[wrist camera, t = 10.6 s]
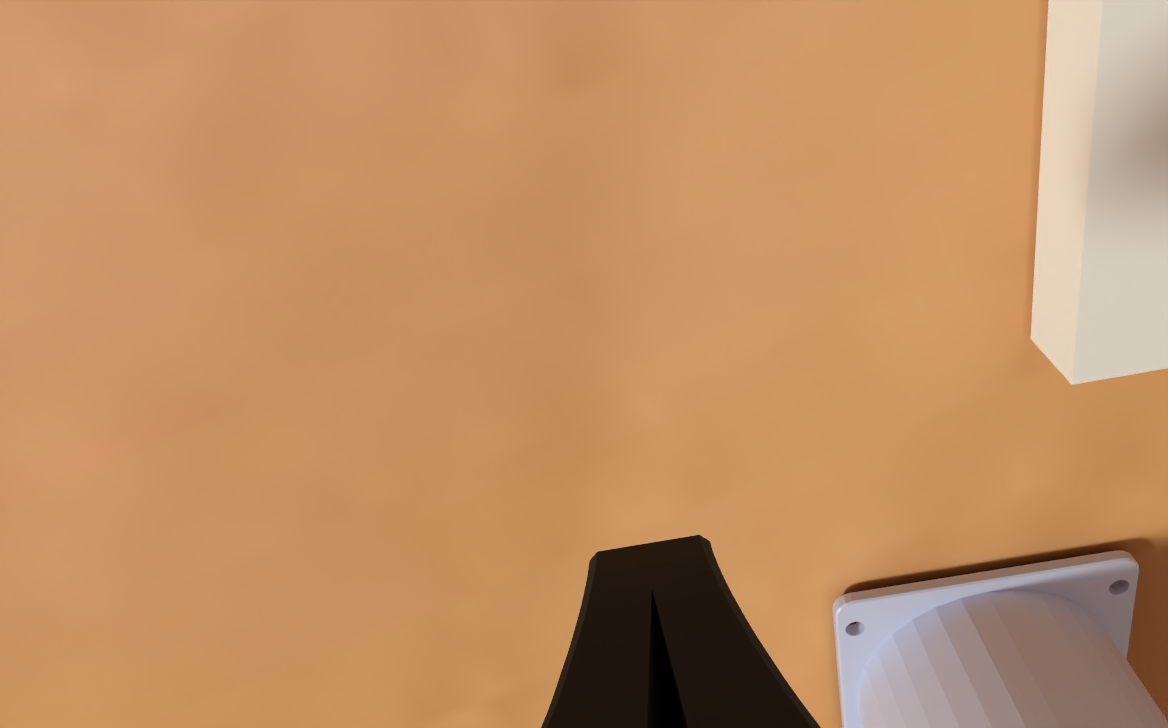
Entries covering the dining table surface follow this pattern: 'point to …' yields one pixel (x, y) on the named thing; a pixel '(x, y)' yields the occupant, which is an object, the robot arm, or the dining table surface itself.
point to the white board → (1103, 190)
